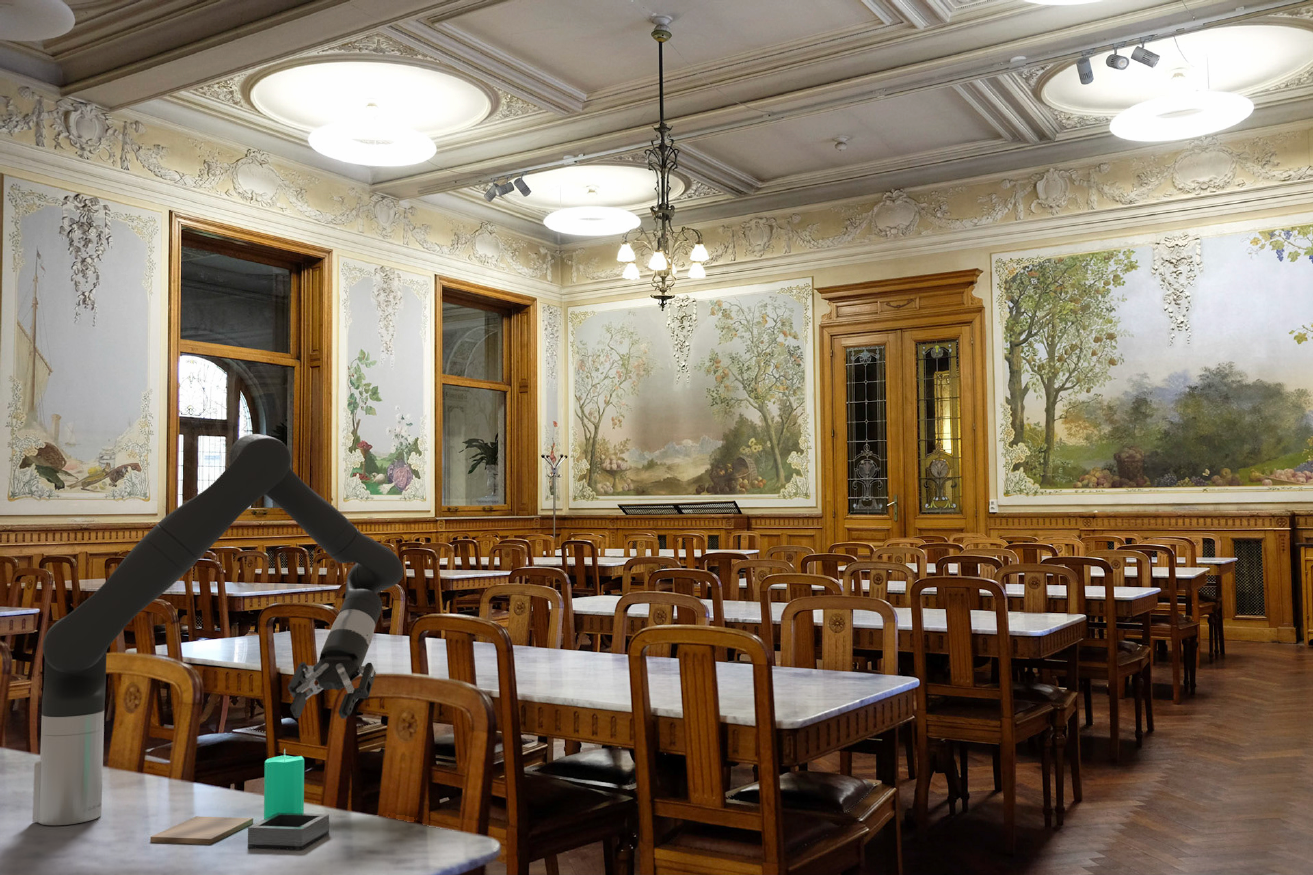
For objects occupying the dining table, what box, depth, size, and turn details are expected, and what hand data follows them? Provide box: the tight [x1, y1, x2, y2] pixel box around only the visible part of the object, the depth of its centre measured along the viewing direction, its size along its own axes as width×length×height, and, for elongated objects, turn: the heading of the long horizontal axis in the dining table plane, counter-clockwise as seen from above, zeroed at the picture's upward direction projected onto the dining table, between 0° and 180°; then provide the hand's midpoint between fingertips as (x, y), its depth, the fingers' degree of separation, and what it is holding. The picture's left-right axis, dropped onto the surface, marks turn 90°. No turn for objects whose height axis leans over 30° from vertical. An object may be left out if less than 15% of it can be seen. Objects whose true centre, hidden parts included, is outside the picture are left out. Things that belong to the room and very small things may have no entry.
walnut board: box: [149, 815, 254, 845], centre depth 172 cm, size 10×12×1 cm
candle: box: [263, 748, 305, 820], centre depth 175 cm, size 6×6×12 cm
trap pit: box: [247, 813, 330, 851], centre depth 166 cm, size 9×9×3 cm
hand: (318, 715), depth 187 cm, fingers open, 8 cm apart
